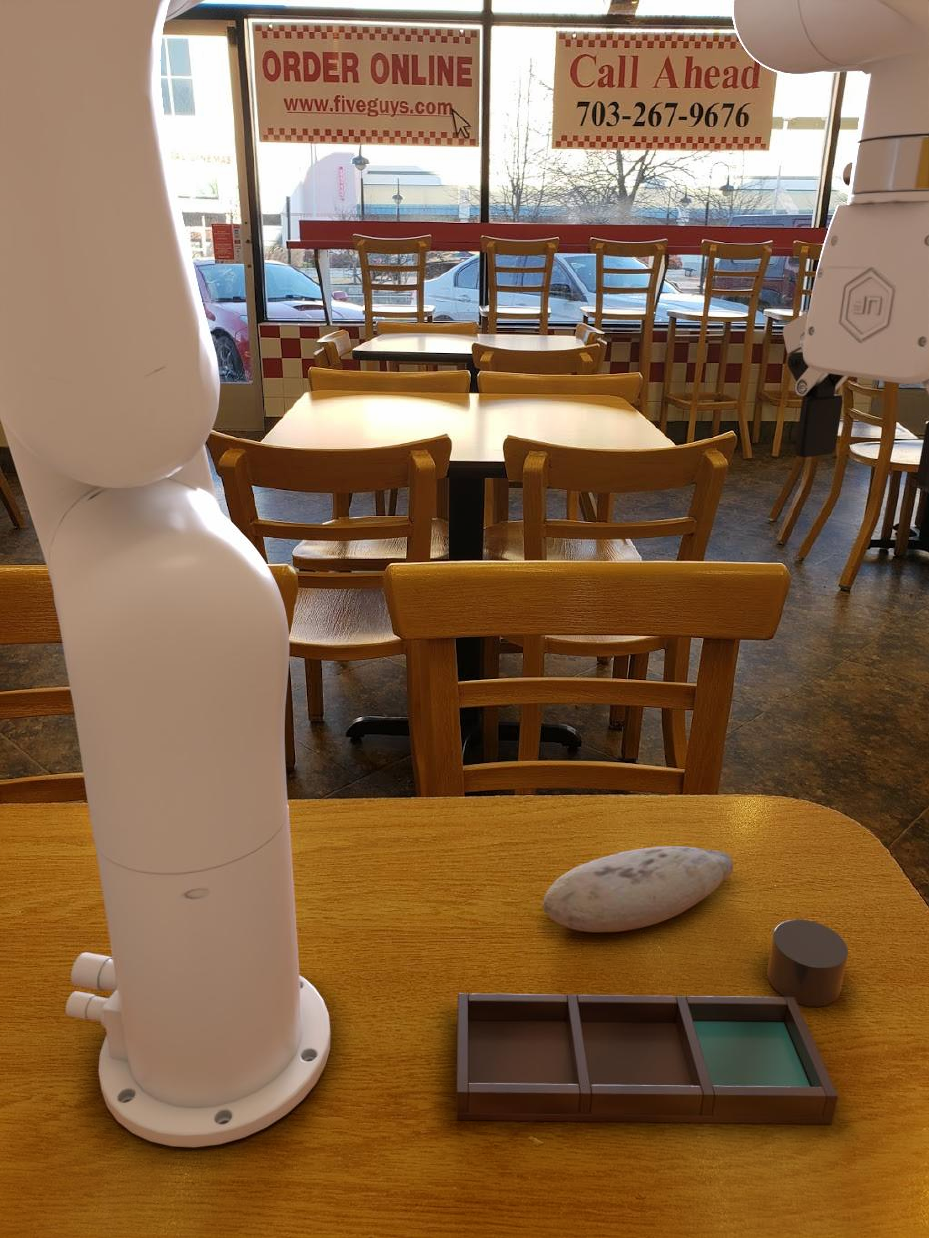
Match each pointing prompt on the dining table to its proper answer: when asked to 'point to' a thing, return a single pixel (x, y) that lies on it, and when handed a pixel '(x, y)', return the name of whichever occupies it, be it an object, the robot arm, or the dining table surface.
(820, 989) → the dark gray cylinder
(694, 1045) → the divided tray
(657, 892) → the decorative stone
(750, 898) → the dining table surface
